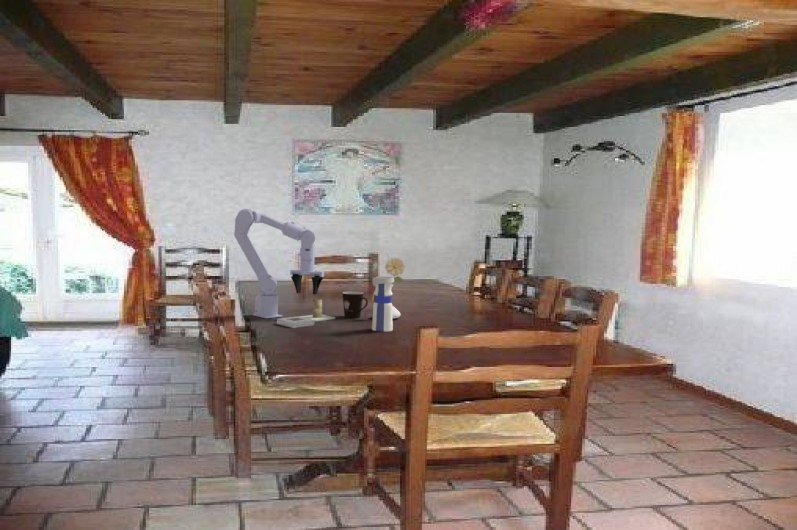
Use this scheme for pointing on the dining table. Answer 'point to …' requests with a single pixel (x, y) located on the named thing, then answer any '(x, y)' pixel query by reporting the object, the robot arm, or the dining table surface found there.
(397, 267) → the flower in vase
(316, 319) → the mat
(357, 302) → the coffee mug
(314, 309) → the tan two-tone cylinder
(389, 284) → the water bottle
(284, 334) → the dining table surface
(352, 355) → the dining table surface
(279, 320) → the square metal frame
